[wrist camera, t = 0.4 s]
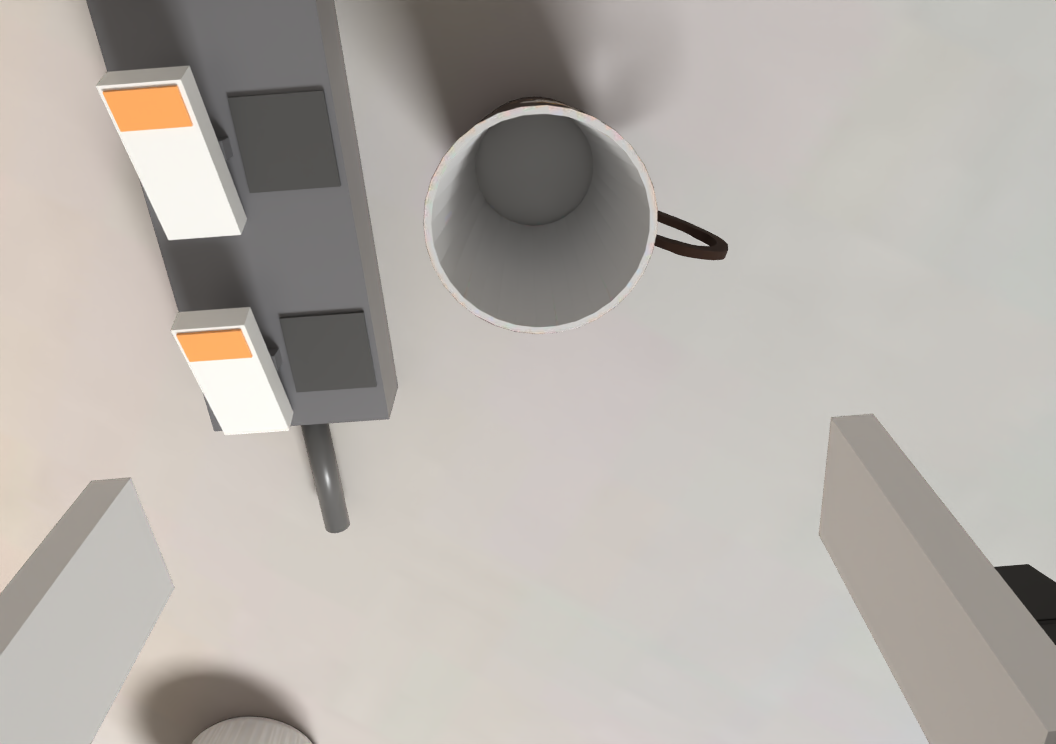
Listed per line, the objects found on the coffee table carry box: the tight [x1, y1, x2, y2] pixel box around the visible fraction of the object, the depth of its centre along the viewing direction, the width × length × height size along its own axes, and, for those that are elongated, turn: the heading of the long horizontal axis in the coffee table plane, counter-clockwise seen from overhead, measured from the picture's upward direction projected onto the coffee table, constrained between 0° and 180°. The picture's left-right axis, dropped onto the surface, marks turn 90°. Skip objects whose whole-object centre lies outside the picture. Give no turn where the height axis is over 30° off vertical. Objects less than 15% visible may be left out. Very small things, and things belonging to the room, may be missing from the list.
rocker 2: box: [171, 307, 293, 435], centre depth 37 cm, size 7×3×1 cm, turn 4°
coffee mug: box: [423, 97, 728, 334], centre depth 34 cm, size 12×9×10 cm
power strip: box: [86, 0, 398, 533], centre depth 37 cm, size 36×9×4 cm, turn 4°
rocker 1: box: [96, 66, 247, 240], centre depth 32 cm, size 7×3×1 cm, turn 5°
